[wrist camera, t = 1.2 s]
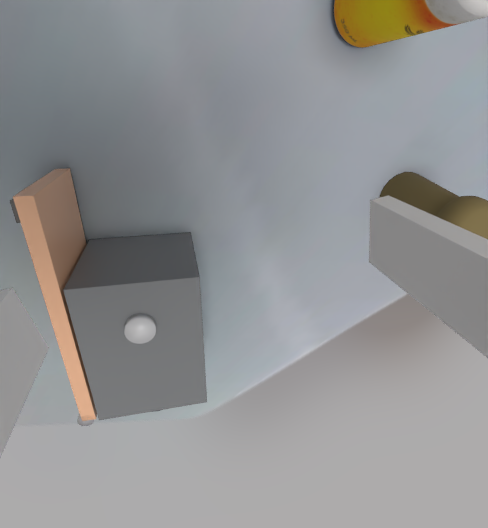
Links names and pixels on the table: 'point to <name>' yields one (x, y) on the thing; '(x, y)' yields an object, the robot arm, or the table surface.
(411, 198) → the olive hourglass shape
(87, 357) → the block
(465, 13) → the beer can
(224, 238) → the table surface
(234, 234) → the table surface
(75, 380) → the side door
